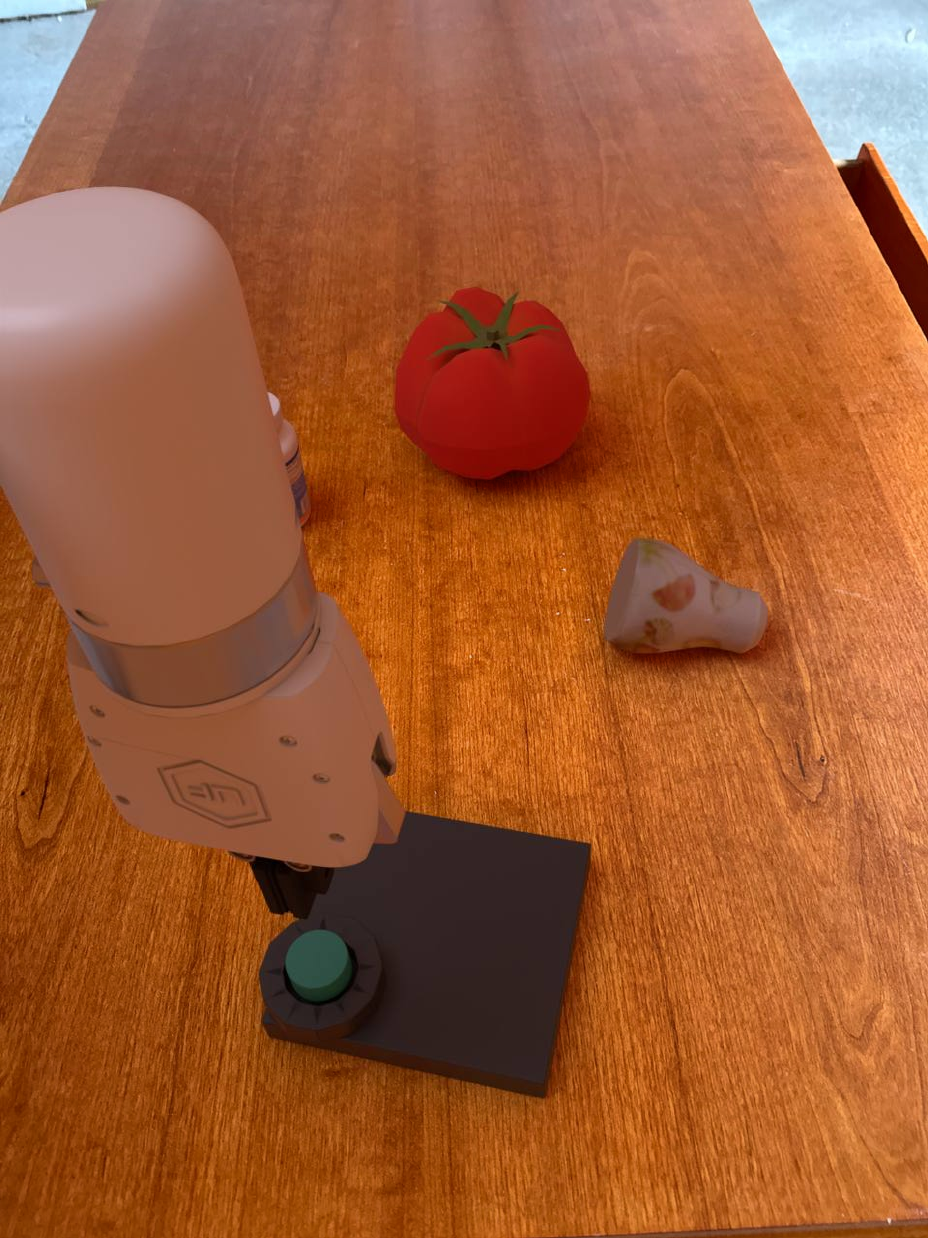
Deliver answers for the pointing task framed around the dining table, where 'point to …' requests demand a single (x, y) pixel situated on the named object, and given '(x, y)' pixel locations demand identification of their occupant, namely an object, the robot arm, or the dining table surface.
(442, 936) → the scale
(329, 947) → the button
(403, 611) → the dining table surface
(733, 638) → the white floral vase
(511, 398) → the tomato
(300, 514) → the pill bottle
